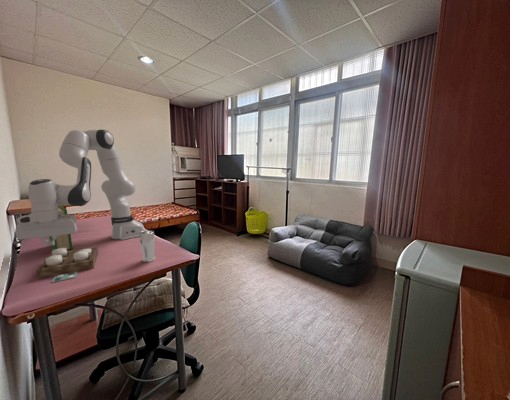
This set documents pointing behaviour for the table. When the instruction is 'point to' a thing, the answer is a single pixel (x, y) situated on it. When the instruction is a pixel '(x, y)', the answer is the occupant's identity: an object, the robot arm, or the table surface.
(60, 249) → the button
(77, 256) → the button
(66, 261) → the wooden compartment tray
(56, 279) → the card
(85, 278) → the table surface
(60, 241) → the hardback book
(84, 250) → the button
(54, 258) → the button
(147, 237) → the beer glass
